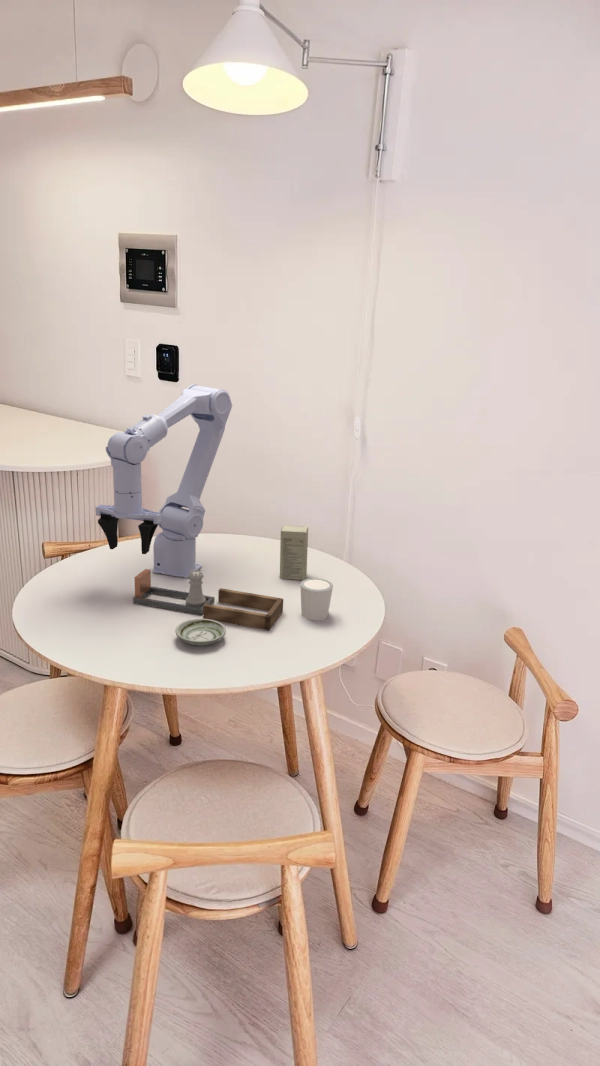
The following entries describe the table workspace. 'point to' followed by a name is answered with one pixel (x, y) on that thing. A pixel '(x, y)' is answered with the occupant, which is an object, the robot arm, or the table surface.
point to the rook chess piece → (195, 590)
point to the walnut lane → (243, 616)
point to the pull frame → (145, 589)
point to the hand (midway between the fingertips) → (129, 550)
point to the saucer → (200, 631)
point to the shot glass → (315, 598)
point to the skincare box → (293, 552)
